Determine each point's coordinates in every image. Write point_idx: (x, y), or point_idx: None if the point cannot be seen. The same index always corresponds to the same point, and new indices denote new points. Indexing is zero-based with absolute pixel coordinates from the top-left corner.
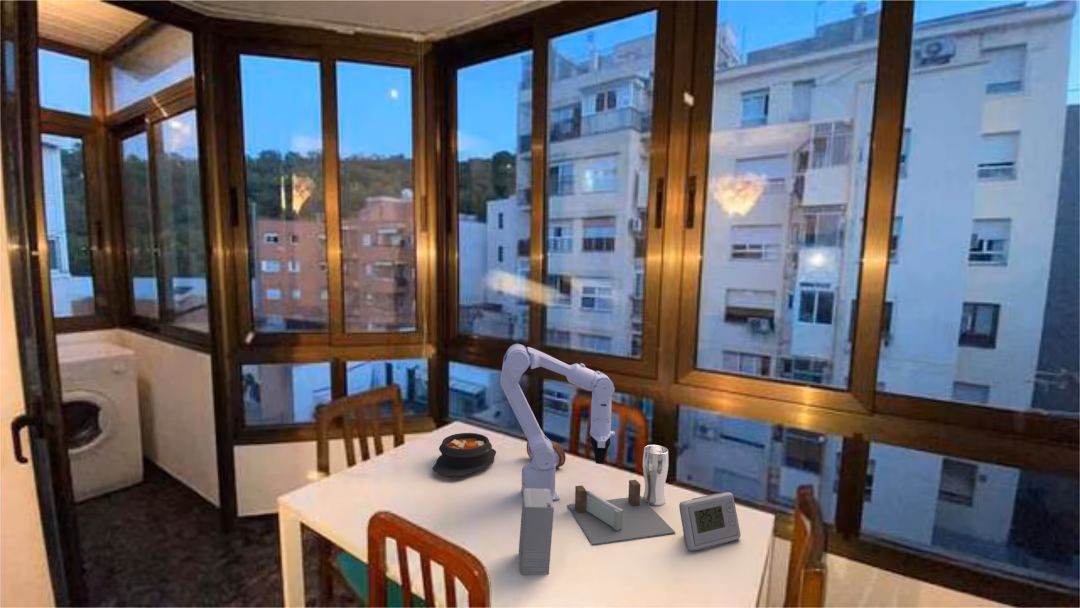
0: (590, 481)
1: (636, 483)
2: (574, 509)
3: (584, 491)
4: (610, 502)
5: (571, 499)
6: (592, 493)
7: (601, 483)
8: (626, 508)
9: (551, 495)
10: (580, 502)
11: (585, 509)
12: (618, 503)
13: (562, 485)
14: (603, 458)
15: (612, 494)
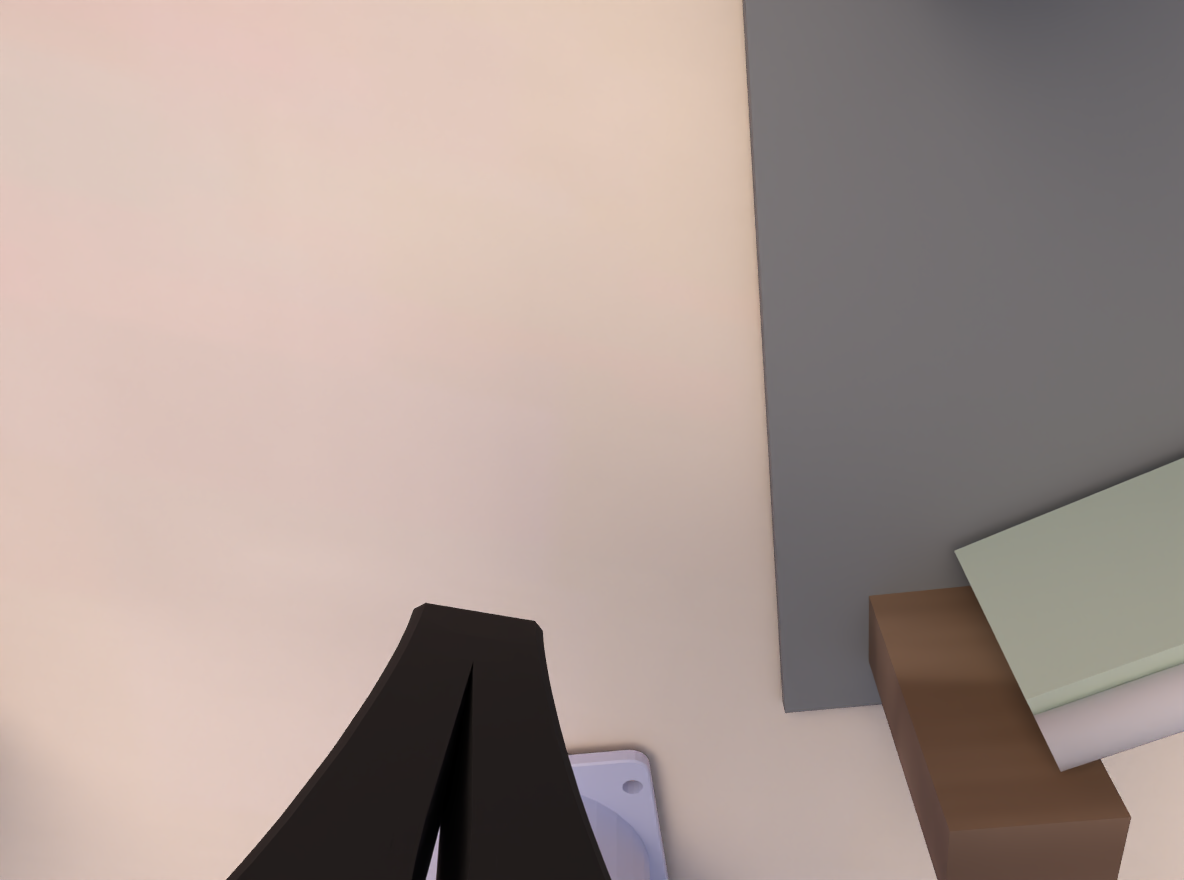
0: (113, 340)
1: None
2: None
3: (1119, 824)
4: (843, 230)
5: (637, 641)
6: (1174, 724)
7: (156, 188)
8: (1097, 21)
9: (625, 841)
10: None
11: None
12: (905, 112)
13: (284, 671)
14: (553, 745)
15: (545, 105)
